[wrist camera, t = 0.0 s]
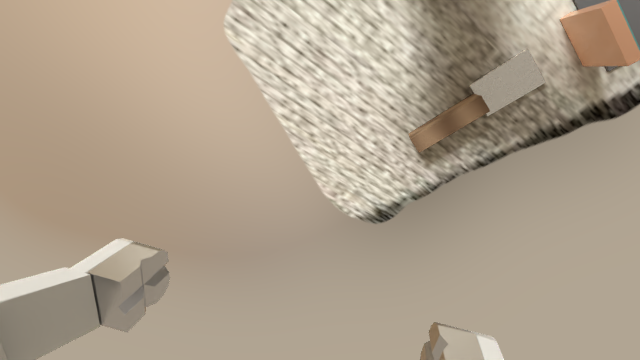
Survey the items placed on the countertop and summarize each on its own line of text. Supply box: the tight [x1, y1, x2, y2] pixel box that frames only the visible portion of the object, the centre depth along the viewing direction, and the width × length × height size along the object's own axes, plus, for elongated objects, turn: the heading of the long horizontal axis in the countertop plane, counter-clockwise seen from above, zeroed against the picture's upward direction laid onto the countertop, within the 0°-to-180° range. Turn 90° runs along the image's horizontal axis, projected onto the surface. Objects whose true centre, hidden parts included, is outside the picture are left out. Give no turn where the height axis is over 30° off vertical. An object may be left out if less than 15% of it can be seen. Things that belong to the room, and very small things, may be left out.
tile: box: [560, 0, 640, 66], centre depth 39 cm, size 2×8×9 cm, turn 36°
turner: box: [409, 49, 546, 153], centre depth 48 cm, size 21×6×4 cm, turn 126°
